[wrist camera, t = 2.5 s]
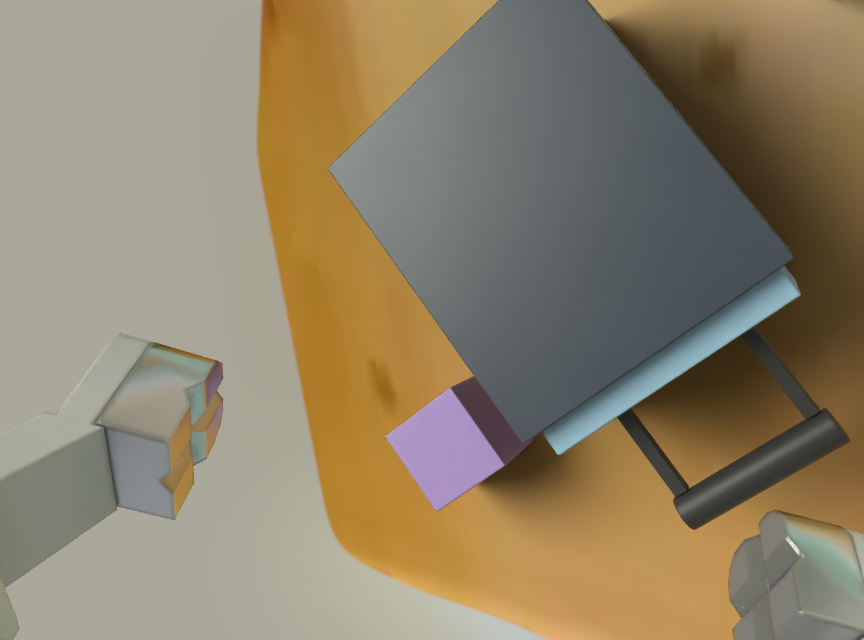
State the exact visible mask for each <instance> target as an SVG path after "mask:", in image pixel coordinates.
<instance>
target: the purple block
mask: <svg viewBox="0 0 864 640" xmlns="http://www.w3.org/2000/svg"><path fill="white" fill-rule="evenodd" d="M386 438H387V439H388V441H389V442H390V444H391V445H392V447H393V448H394V450H395V451H396V453H397V454H398V456H399V457H400V459H401V460H402V461H403V463H404V464H405V466H406V467H407V469H408V470H409V472H410V473H411V475H412V476H413V478H414V479H415V481H416V482H417V484H418V485H419V487H420V488H421V490H422V491H423V492H424V494H425V495H426V497H427V498H428V500H429V501H430V503H431V504H432V506H433V507H434V509H435V510H436V511H439V510H441V509H442V508H444V507H445V506H446V505H448V504H449V503H451V502H452V501H454V500H455V499H457V498H458V497H460V496H461V495H463V494H464V493H466V492H467V491H469V490H470V489H471V488H473V487H474V486H476V485H477V484H479V483H480V482H482V481H483V480H485V479H486V478H488V477H489V476H491V475H492V474H494V473H495V472H497V471H498V470H499V469H501V468H502V467H504V466H505V465H506V464H507V463H509V462H510V461H511V460H512V459H513V458H514V457H515V456H517V455H518V454H519V453H520V452H521V451H522V450H523V449H525V448H526V447H527V446H528V445H529V444H530V443H531V442H533V441H534V438H532V439H530V440H529V441H527V442H526V443H524V444H522V442H521V441H520V440H519V438H518V437H517V435H516V434H515V433H514V431H513V430H512V428H511V427H510V425H509V424H508V423H507V421H506V420H505V418H504V417H503V416H502V414H501V413H500V411H499V410H498V409H497V407H496V406H495V404H494V403H493V401H492V400H491V399H490V397H489V396H488V394H487V393H486V392H485V390H484V389H483V387H482V386H481V385H480V383H479V382H478V380H477V379H476V378H475V376H473V377H471V378H469V379H467V380H465V381H463V382H461V383H459V384H456V385H454V386H452V387H450V388H449V389H448V390H446V391H445V392H444V393H442V394H441V395H440V396H438V397H437V398H436V399H434V400H433V401H432V402H430V403H429V404H428V405H426V406H425V407H424V408H422V409H421V410H420V411H418V412H417V413H416V414H414V415H413V416H412V417H410V418H409V419H408V420H407V421H405V422H404V423H403V424H401V425H400V426H399V427H397V428H396V429H395V430H393V431H392V432H391V433H389V434H388V435H387V436H386Z"/></svg>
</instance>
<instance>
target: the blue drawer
mask: <svg viewBox="0 0 864 640" xmlns="http://www.w3.org/2000/svg"><path fill="white" fill-rule="evenodd" d="M800 295H801V294H800V291H799V288H798V285H797V283H796V280H795V278H794V277H793V276H792V275H791V273H790V272H789V271H788V270H787V268H786V267H785V266H783V267H781V268H780V269H778V270H777V271H776V272H774V273H773V274H771V275H770V276H768V277H767V278H765V279H764V280H762V281H761V282H760V283H758V284H757V285H755V286H754V287H752V288H751V289H749V290H748V291H746V292H745V293H743V294H742V295H741V296H739V297H738V298H736V299H735V300H733V301H732V302H730V303H729V304H727V305H726V306H724V307H723V308H722V309H720V310H719V311H717V312H716V313H714V314H713V315H711V316H710V317H708V318H707V319H706V320H704V321H703V322H701V323H700V324H698V325H697V326H695V327H694V328H692V329H691V330H689V331H688V332H687V333H685V334H684V335H682V336H681V337H679V338H678V339H676V340H675V341H673V342H672V343H670V344H669V345H668V346H666V347H665V348H663V349H662V350H660V351H659V352H657V353H656V354H654V355H653V356H651V357H650V358H649V359H647V360H646V361H644V362H643V363H641V364H640V365H638V366H637V367H635V368H634V369H633V370H631V371H630V372H628V373H627V374H625V375H624V376H622V377H621V378H619V379H618V380H616V381H615V382H614V383H612V384H611V385H609V386H608V387H606V388H605V389H603V390H602V391H600V392H599V393H597V394H596V395H595V396H593V397H592V398H590V399H589V400H587V401H586V402H584V403H583V404H581V405H580V406H579V407H577V408H576V409H574V410H573V411H571V412H570V413H568V414H567V415H565V416H564V417H562V418H561V419H560V420H558V421H557V422H555V423H554V424H552V425H551V426H549V427H548V428H546V429H545V430H543V431H542V433H543V435H544V436H545V438H546V439H547V440H548V442H549V443H550V445H551V446H552V447H553V449H554V450H555V451H556V453H557V454H558V455H561V454H562V453H564V452H565V451H567V450H568V449H570V448H571V447H573V446H574V445H576V444H577V443H579V442H580V441H582V440H583V439H585V438H586V437H588V436H589V435H591V434H592V433H594V432H595V431H597V430H598V429H600V428H601V427H603V426H604V425H606V424H607V423H609V422H610V421H612V420H613V419H615V418H616V417H617V418H618V419H619V421H620V422H621V423H622V425H623V426H624V427H625V429H626V430H627V431H628V433H629V434H630V436H631V437H632V438H633V440H634V441H635V442H636V444H637V445H638V446H639V448H640V449H641V450H642V452H643V453H644V455H645V456H646V457H647V459H648V460H649V461H650V463H651V464H652V465H653V467H654V468H655V470H656V471H657V472H658V474H659V475H660V476H661V478H662V479H663V480H664V482H665V483H666V484H667V486H668V487H669V489H670V490H671V491H672V493H673V494H674V495H675V496H676V497H674V499H673V501H674V505H675V508H676V510H677V512H678V513H679V515H680V517H681V518H682V520H683V521H684V522H685V523H686V524H687V525H688V526H689V527H690V528H691V529H693V530H695V529H697V528H699V527H701V526H703V525H704V524H706V523H708V522H710V521H711V520H713V519H715V518H717V517H718V516H720V515H722V514H724V513H725V512H727V511H729V510H731V509H732V508H734V507H736V506H738V505H740V504H741V503H743V502H745V501H747V500H748V499H750V498H752V497H754V496H755V495H757V494H759V493H761V492H762V491H764V490H766V489H768V488H769V487H771V486H773V485H775V484H776V483H778V482H780V481H782V480H783V479H785V478H787V477H789V476H790V475H792V474H794V473H796V472H798V471H799V470H801V469H803V468H805V467H806V466H808V465H810V464H812V463H813V462H815V461H817V460H819V459H820V458H822V457H824V456H826V455H827V454H829V453H831V452H833V451H834V450H836V449H838V448H840V447H841V446H843V445H845V444H847V443H848V442H850V438H849V437H848V435H847V433H846V432H845V430H844V429H843V428H842V426H841V425H840V424H839V422H838V421H837V420H836V419H835V417H834V416H833V415H832V414H831V413H830V411H829V410H828V409H826V408H824V409H822V410H819V407H818V406H817V405H816V403H815V402H814V401H813V400H812V398H811V397H810V396H809V395H808V393H807V392H806V391H805V389H804V388H803V387H802V386H801V384H800V383H799V382H798V381H797V379H796V378H795V377H794V375H793V374H792V373H791V372H790V370H789V369H788V368H787V367H786V365H785V364H784V363H783V361H782V360H781V359H780V358H779V356H778V355H777V354H776V353H775V351H774V350H773V349H772V347H771V346H770V345H769V344H768V342H767V341H766V340H765V339H764V337H763V336H762V335H761V333H760V332H759V331H758V330H757V328H756V327H755V325H757V324H758V323H760V322H761V321H763V320H764V319H766V318H767V317H769V316H770V315H772V314H773V313H775V312H776V311H778V310H779V309H781V308H782V307H784V306H785V305H787V304H788V303H790V302H791V301H793V300H794V299H796V298H797V297H799V296H800ZM739 336H741V337H742V338H743V339H744V341H745V342H746V343H747V344H748V346H749V347H750V348H751V350H752V351H753V352H754V353H755V355H756V356H757V357H758V359H759V360H760V361H761V362H762V364H763V365H764V366H765V368H766V369H767V370H768V371H769V373H770V374H771V375H772V377H773V378H774V379H775V380H776V382H777V383H778V384H779V385H780V387H781V388H782V389H783V391H784V392H785V393H786V394H787V396H788V397H789V398H790V400H791V401H792V402H793V403H794V405H795V406H796V407H797V409H798V410H799V411H800V412H801V414H802V415H803V416H804V418H805V420H804V421H802V422H800V423H799V424H797V425H795V426H793V427H792V428H790V429H788V430H787V431H785V432H783V433H782V434H780V435H778V436H777V437H775V438H773V439H772V440H770V441H768V442H767V443H765V444H763V445H762V446H760V447H758V448H756V449H755V450H753V451H751V452H750V453H748V454H746V455H745V456H743V457H741V458H740V459H738V460H736V461H735V462H733V463H731V464H730V465H728V466H726V467H725V468H723V469H721V470H719V471H718V472H716V473H714V474H713V475H711V476H709V477H708V478H706V479H704V480H703V481H701V482H699V483H698V484H696V485H694V486H693V487H691V488H689V486H688V484H687V483H686V482H685V480H684V479H683V478H682V476H681V475H680V474H679V472H678V471H677V470H676V468H675V467H674V465H673V464H672V463H671V461H670V460H669V459H668V457H667V456H666V455H665V453H664V452H663V451H662V449H661V448H660V447H659V445H658V444H657V443H656V441H655V440H654V439H653V437H652V436H651V434H650V433H649V432H648V430H647V429H646V428H645V426H644V425H643V424H642V422H641V421H640V420H639V418H638V417H637V416H636V414H635V413H634V412H633V410H632V409H631V408H632V407H633V406H635V405H636V404H638V403H639V402H641V401H642V400H644V399H645V398H647V397H648V396H650V395H651V394H653V393H654V392H656V391H657V390H659V389H660V388H662V387H663V386H665V385H666V384H668V383H669V382H671V381H672V380H674V379H675V378H677V377H678V376H680V375H681V374H683V373H684V372H686V371H687V370H689V369H690V368H692V367H693V366H695V365H696V364H698V363H699V362H701V361H702V360H704V359H705V358H707V357H708V356H710V355H711V354H713V353H715V352H716V351H718V350H719V349H721V348H722V347H724V346H725V345H727V344H728V343H730V342H731V341H733V340H734V339H736V338H737V337H739ZM688 488H689V489H688Z"/></svg>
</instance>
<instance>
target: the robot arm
mask: <svg viewBox="0 0 864 640" xmlns="http://www.w3.org/2000/svg"><path fill="white" fill-rule="evenodd" d="M222 369H223V368H222V363H221V362H219V361H216V360H212V359H209V358H206V357H202V356H199V355H195V354H192V353H189V352H185V351H182V350H179V349H175V348H172V347H169V346H165V345H162V344H158V343H155V342H151V341H147V340H143V339H140V338H136V337H133V336H130V335H126V334H123V333H120V334H119V335H118V336H116V337H114V338H113V339H111V340H110V342H109V343H108V344H107V346H106V347H105V348H104V350H103V351H102V352H101V354H100V355H99V356H98V358H97V359H96V360H95V362H94V363H93V364H92V366H91V367H90V368H89V370H88V371H87V373H86V374H85V375H84V376H83V378H82V379H81V381H80V382H79V383H78V385H77V386H76V387H75V389H74V390H73V391H72V393H71V394H70V395H69V397H68V398H67V400H66V401H65V402H64V404H63V405H62V406H61V408H60V409H59V410H58V412H57V413H56V414H54V413H50V412H44V413H42V414H39V415H37V416H35V417H33V418H31V419H29V420H27V421H25V422H22V423H20V424H18V425H16V426H14V427H12V428H10V429H8V430H5V431H3V432H1V433H0V640H13V639H14V637H15V635H16V634H17V632H18V630H19V625H18V621H17V618H16V615H15V612H14V610H13V608H12V605H11V602H10V600H9V597H8V594H7V592H6V589H5V588H6V587H7V586H8V585H10V584H11V583H13V582H14V581H16V580H17V579H19V578H20V577H21V576H23V575H24V574H26V573H27V572H29V571H30V570H31V569H33V568H34V567H36V566H37V565H39V564H40V563H41V562H43V561H44V560H46V559H47V558H49V557H50V556H51V555H53V554H54V553H56V552H57V551H59V550H60V549H62V548H63V547H64V546H66V545H67V544H69V543H70V542H71V541H73V540H74V539H76V538H77V537H79V536H80V535H81V534H83V533H84V532H86V531H87V530H89V529H90V528H92V527H93V526H94V525H96V524H97V523H99V522H100V521H102V520H103V519H105V518H106V517H107V516H109V515H110V514H112V513H113V512H114V511H116V510H117V506H118V507H122V508H127V509H131V510H135V511H139V512H143V513H147V514H151V515H155V516H159V517H163V518H168V519H171V520H175V518H176V516H177V514H178V512H179V510H180V508H181V507H182V505H183V503H184V501H185V499H186V497H187V495H188V493H189V491H190V489H191V488H192V486H193V484H194V474H193V473H194V472H193V466H194V465H196V464H198V463H200V462H201V461H203V460H205V459H206V458H207V456H208V454H209V452H210V450H211V448H212V446H213V444H214V442H215V439H216V436H217V433H218V430H219V427H220V424H221V418H222V412H223V398H222V397H221V396H220V394H219V393H218V392H217V389H218V387H219V385H220V383H221V381H222V379H223V370H222ZM759 530H760V535H757V536H754V537H751V538H747V539H745V540H744V541H743V542H742V544H741V545H740V546H739V548H738V549H737V550H736V552H735V554H734V557H733V560H732V563H731V566H730V569H729V581H728V587H729V599H730V602H731V603H732V605H733V606H734V608H735V609H736V610H737V612H738V613H739V615H740V616H741V619H740V621H739V622H738V623H737V625H736V626H735V627H734V628H733V638H734V640H864V533H862V532H858V531H854V530H851V529H847V528H842V527H841V526H838V525H834V524H830V523H826V522H822V521H818V520H814V519H810V518H806V517H802V516H798V515H795V514H791V513H787V512H783V511H779V510H773V511H771V512H768V513H766V515H765V516H764V517H763V518H762V519H761V520H760V522H759Z"/></svg>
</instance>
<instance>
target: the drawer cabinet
mask: <svg viewBox="0 0 864 640" xmlns="http://www.w3.org/2000/svg"><path fill="white" fill-rule="evenodd" d="M328 170H329V172H330V173H331V174H332V176H333V177H334V179H335V180H336V181H337V183H338V184H339V186H340V187H341V189H342V190H343V191H344V193H345V194H346V196H347V197H348V198H349V200H350V201H351V203H352V204H353V205H354V207H355V208H356V210H357V211H358V212H359V214H360V215H361V217H362V218H363V220H364V221H365V222H366V224H367V225H368V227H369V228H370V229H371V231H372V232H373V234H374V235H375V236H376V238H377V239H378V241H379V242H380V244H381V245H382V246H383V248H384V249H385V251H386V252H387V253H388V255H389V256H390V258H391V259H392V260H393V262H394V263H395V265H396V266H397V267H398V269H399V270H400V272H401V273H402V275H403V276H404V277H405V279H406V280H407V282H408V283H409V284H410V286H411V287H412V289H413V290H414V291H415V293H416V294H417V296H418V297H419V299H420V300H421V301H422V303H423V304H424V306H425V307H426V308H427V310H428V311H429V313H430V314H431V315H432V317H433V318H434V320H435V321H436V323H437V324H438V325H439V327H440V328H441V330H442V331H443V332H444V334H445V335H446V337H447V338H448V339H449V341H450V342H451V344H452V345H453V346H454V348H455V349H456V351H457V352H458V354H459V355H460V356H461V358H462V359H463V361H464V362H465V363H466V365H467V366H468V368H469V369H470V370H471V372H472V373H473V375H474V376H475V378H476V379H477V380H478V382H479V383H480V385H481V386H482V387H483V389H484V390H485V392H486V393H487V394H488V396H489V397H490V399H491V400H492V401H493V403H494V404H495V406H496V407H497V409H498V410H499V411H500V413H501V414H502V416H503V417H504V418H505V420H506V421H507V423H508V424H509V425H510V427H511V428H512V430H513V431H514V433H515V434H516V435H517V437H518V438H519V440H520V441H521V442H522V444H524V443H526V442H527V441H529V440H530V439H532V438H533V437H535V436H536V435H538V434H539V433H541V432H542V431H543V430H545V429H546V428H548V427H549V426H551V425H552V424H554V423H555V422H557V421H558V420H560V419H561V418H562V417H564V416H565V415H567V414H568V413H570V412H571V411H573V410H574V409H576V408H577V407H579V406H580V405H581V404H583V403H584V402H586V401H587V400H589V399H590V398H592V397H593V396H595V395H596V394H597V393H599V392H600V391H602V390H603V389H605V388H606V387H608V386H609V385H611V384H612V383H614V382H615V381H616V380H618V379H619V378H621V377H622V376H624V375H625V374H627V373H628V372H630V371H631V370H633V369H634V368H635V367H637V366H638V365H640V364H641V363H643V362H644V361H646V360H647V359H649V358H650V357H651V356H653V355H654V354H656V353H657V352H659V351H660V350H662V349H663V348H665V347H666V346H668V345H669V344H670V343H672V342H673V341H675V340H676V339H678V338H679V337H681V336H682V335H684V334H685V333H687V332H688V331H689V330H691V329H692V328H694V327H695V326H697V325H698V324H700V323H701V322H703V321H704V320H706V319H707V318H708V317H710V316H711V315H713V314H714V313H716V312H717V311H719V310H720V309H722V308H723V307H724V306H726V305H727V304H729V303H730V302H732V301H733V300H735V299H736V298H738V297H739V296H741V295H742V294H743V293H745V292H746V291H748V290H749V289H751V288H752V287H754V286H755V285H757V284H758V283H760V282H761V281H762V280H764V279H765V278H767V277H768V276H770V275H771V274H773V273H774V272H776V271H777V270H778V269H780V268H781V267H783V266H784V265H786V264H787V263H789V262H790V261H792V260H793V259H794V258H795V257H794V255H793V253H792V252H791V250H790V249H789V248H788V246H787V245H786V244H785V243H784V241H783V240H782V239H781V238H780V236H779V235H778V234H777V233H776V231H775V230H774V229H773V228H772V227H771V225H770V224H769V223H768V222H767V220H766V219H765V218H764V217H763V215H762V214H761V213H760V212H759V211H758V209H757V208H756V207H755V206H754V204H753V203H752V202H751V201H750V199H749V198H748V197H747V196H746V194H745V193H744V192H743V191H742V190H741V188H740V187H739V186H738V185H737V183H736V182H735V181H734V180H733V178H732V177H731V176H730V175H729V173H728V172H727V171H726V170H725V169H724V167H723V166H722V165H721V164H720V162H719V161H718V160H717V159H716V157H715V156H714V155H713V154H712V152H711V151H710V150H709V149H708V148H707V146H706V145H705V144H704V143H703V141H702V140H701V139H700V138H699V136H698V135H697V134H696V133H695V131H694V130H693V129H692V128H691V127H690V125H689V124H688V123H687V122H686V120H685V119H684V118H683V117H682V115H681V114H680V113H679V112H678V110H677V109H676V108H675V107H674V106H673V104H672V103H671V102H670V101H669V99H668V98H667V97H666V96H665V94H664V93H663V92H662V91H661V89H660V88H659V87H658V86H657V85H656V83H655V82H654V81H653V80H652V78H651V77H650V76H649V75H648V73H647V72H646V71H645V70H644V68H643V67H642V66H641V65H640V64H639V62H638V61H637V60H636V59H635V57H634V56H633V55H632V54H631V52H630V51H629V50H628V49H627V47H626V46H625V45H624V44H623V43H622V41H621V40H620V39H619V38H618V36H617V35H616V34H615V33H614V31H613V30H612V29H611V28H610V26H609V25H608V24H607V23H606V22H605V20H604V19H603V18H602V17H601V15H600V14H599V13H598V12H597V11H596V9H595V8H594V7H593V6H592V5H591V3H590V2H589V1H588V0H499V1H498V2H497V3H496V4H495V5H494V6H493V7H492V8H490V9H489V10H488V11H487V12H486V13H485V14H484V15H483V16H482V17H481V18H480V19H479V20H478V21H477V22H476V23H475V24H474V25H473V26H472V27H471V28H470V29H469V30H468V31H467V32H466V33H465V34H464V35H463V36H462V37H461V38H460V39H459V40H458V41H457V42H456V43H455V44H454V45H453V46H452V47H451V48H450V49H449V50H448V51H447V52H446V53H445V54H444V55H443V56H442V57H441V58H440V59H439V60H437V61H436V62H435V63H434V64H433V65H432V66H431V67H430V68H429V69H428V70H427V71H426V72H425V73H424V74H423V75H422V76H421V77H420V78H419V79H418V80H417V81H416V82H415V83H414V84H413V85H412V86H411V87H410V88H409V89H408V90H407V91H406V92H405V93H404V94H403V95H402V96H401V97H400V98H399V99H398V100H397V101H396V102H395V103H394V104H393V105H392V106H391V107H390V108H389V109H388V110H387V111H386V112H385V113H383V114H382V115H381V116H380V117H379V118H378V119H377V120H376V121H375V122H374V123H373V124H372V125H371V126H370V127H369V128H368V129H367V130H366V131H365V132H364V133H363V134H362V135H361V136H360V137H359V138H358V139H357V140H356V141H355V142H354V143H353V144H352V145H351V146H350V147H349V148H348V149H347V150H346V151H345V152H344V153H343V154H342V155H341V156H340V157H339V158H338V159H337V160H336V161H335V162H334V163H333V164H332V165H330V166H329V167H328Z"/></svg>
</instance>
